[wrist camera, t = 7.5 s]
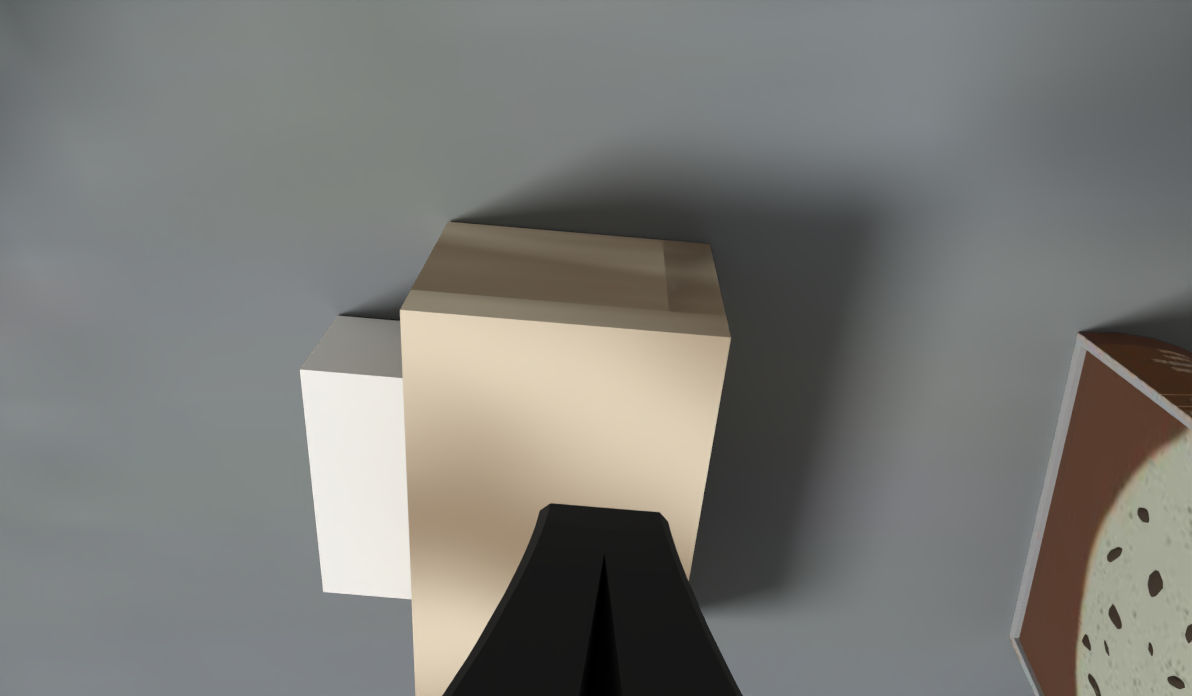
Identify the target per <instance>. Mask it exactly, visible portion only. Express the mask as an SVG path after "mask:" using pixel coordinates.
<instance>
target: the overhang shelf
mask: <svg viewBox="0 0 1192 696" xmlns="http://www.w3.org/2000/svg"><path fill="white" fill-rule="evenodd" d="M400 326H401V350H402V375H403V399H404V424H405V448H406V472H407V497H408V521H409V546H410V570H411V595H412V619H413V644H414V668H415V693H416V696H442V695H443V694H444V692H445V691H446V689H447V688H448V686H449V685H450V683H451V682H452V680H453V678H454V677H455V675H456V674H457V672H458V671H459V669H460V668H461V666H462V665H463V663H464V662H465V660H466V659H467V657H468V656H469V654H470V652H471V651H472V649H473V647H474V646H475V644H476V642H477V641H478V639H479V637H480V635H481V634H482V632H483V630H484V628H485V627H486V625H487V623H488V621H489V620H490V618H491V616H492V614H493V613H494V611H495V609H496V607H497V606H498V604H499V602H500V600H501V599H502V597H503V595H504V593H505V591H506V590H507V588H508V586H509V584H510V582H511V580H512V578H513V576H514V574H515V572H516V570H517V568H518V566H519V564H520V561H521V559H522V557H523V555H524V553H525V551H526V548H527V546H528V544H529V541H530V539H531V536H532V533H533V531H534V528H535V525H536V522H537V519H538V515H539V512H540V510H541V509H543V508H544V507H546V506H547V505H549V504H550V503H555V504H567V505H579V506H591V507H603V508H615V509H627V510H639V511H652V512H660V513H661V514H662V515H663V516H664V517H665V519H666V520H667V521H668V523H669V527H670V531H671V534H672V537H673V540H674V543H675V546H676V550H677V552H678V555H679V558H680V561H681V563H682V566H683V569H684V571H685V574H686V576H687V579H688V581H689V576H690V571H691V565H692V559H693V553H694V548H695V542H696V536H697V530H698V525H699V519H700V513H701V507H702V502H703V496H704V490H705V485H706V479H707V473H708V467H709V462H710V456H711V450H712V444H713V439H714V433H715V427H716V421H717V416H718V410H719V404H720V398H721V393H722V387H723V381H724V375H725V370H726V364H727V358H728V352H729V347H730V341H731V335H730V331H729V326H728V322H727V317H726V313H725V309H724V304H723V300H722V295H721V291H720V287H719V282H718V278H717V273H716V269H715V265H714V260H713V256H712V252H711V247H710V244H705V243H693V242H681V241H670V240H658V239H646V238H634V237H622V236H610V235H599V234H587V233H575V232H563V231H551V230H539V229H528V228H516V227H504V226H492V225H480V224H468V223H456V222H448V223H447V225H446V227H445V228H444V230H443V232H442V234H441V236H440V238H439V239H438V241H437V243H436V245H435V247H434V248H433V250H432V252H431V254H430V256H429V258H428V259H427V261H426V263H425V265H424V267H423V269H422V270H421V272H420V274H419V276H418V278H417V279H416V281H415V283H414V285H413V287H412V289H411V290H410V292H409V294H408V296H407V298H406V300H405V301H404V303H403V305H402V307H401V309H400Z"/></svg>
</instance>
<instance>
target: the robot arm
mask: <svg viewBox="0 0 1192 696" xmlns="http://www.w3.org/2000/svg"><path fill="white" fill-rule="evenodd" d="M442 696H743V695H742V694H741V692H740V690H739V688H738V686H737V684H736V682H735V680H734V678H733V676H732V674H731V672H730V670H729V668H728V666H727V664H726V662H725V660H724V658H723V656H722V654H721V652H720V650H719V648H718V646H717V644H716V642H715V640H714V638H713V636H712V634H711V632H710V630H709V627H708V625H707V623H706V621H705V619H704V616H703V614H702V612H701V610H700V607H699V605H698V603H697V600H696V598H695V596H694V593H693V591H692V588H691V586H690V584H689V581H688V579H687V576H686V574H685V571H684V569H683V566H682V563H681V561H680V558H679V555H678V552H677V550H676V546H675V543H674V540H673V537H672V534H671V531H670V527H669V523H668V521H667V520H666V519H665V517H664V516H663V515H662V514H661V513H660V512H652V511H639V510H627V509H615V508H603V507H591V506H579V505H567V504H555V503H550V504H549V505H547V506H546V507H544V508H543V509H541V510H540V512H539V515H538V519H537V522H536V525H535V528H534V531H533V533H532V536H531V539H530V541H529V544H528V546H527V548H526V551H525V553H524V555H523V557H522V559H521V561H520V564H519V566H518V568H517V570H516V572H515V574H514V576H513V578H512V580H511V582H510V584H509V586H508V588H507V590H506V591H505V593H504V595H503V597H502V599H501V600H500V602H499V604H498V606H497V607H496V609H495V611H494V613H493V614H492V616H491V618H490V620H489V621H488V623H487V625H486V627H485V628H484V630H483V632H482V634H481V635H480V637H479V639H478V641H477V642H476V644H475V646H474V647H473V649H472V651H471V652H470V654H469V656H468V657H467V659H466V660H465V662H464V663H463V665H462V666H461V668H460V669H459V671H458V672H457V674H456V675H455V677H454V678H453V680H452V682H451V683H450V685H449V686H448V688H447V689H446V691H445V692H444V694H443V695H442Z"/></svg>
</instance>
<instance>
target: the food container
mask: <svg viewBox="0 0 1192 696" xmlns="http://www.w3.org/2000/svg"><path fill="white" fill-rule="evenodd" d="M1009 638H1010V640H1011V642H1012V644H1013V647H1014V649H1015V651H1016V653H1017V656H1018V658H1019V660H1020V662H1021V665H1022V667H1023V669H1024V671H1025V674H1026V676H1027V678H1028V680H1029V683H1030V685H1031V687H1032V689H1033V692H1034V694H1035V696H1192V353H1191V352H1189V351H1187V350H1185V349H1183V348H1181V347H1178V346H1175V345H1172V344H1169V343H1165V342H1162V341H1159V340H1156V339H1153V338H1148V337H1142V336H1136V335H1129V334H1123V333H1105V332H1078V334H1077V339H1076V343H1075V348H1074V352H1073V356H1072V361H1071V365H1070V370H1069V374H1068V379H1067V383H1066V387H1065V392H1064V396H1063V401H1062V405H1061V410H1060V414H1059V418H1058V423H1057V427H1056V432H1055V436H1054V441H1053V445H1052V449H1051V454H1050V458H1049V463H1048V467H1047V472H1046V476H1045V480H1044V485H1043V489H1042V494H1041V498H1040V503H1039V507H1038V511H1037V516H1036V520H1035V525H1034V529H1033V534H1032V538H1031V542H1030V547H1029V551H1028V556H1027V560H1026V565H1025V569H1024V573H1023V578H1022V582H1021V587H1020V591H1019V596H1018V600H1017V604H1016V609H1015V613H1014V618H1013V622H1012V627H1011V631H1010V635H1009Z"/></svg>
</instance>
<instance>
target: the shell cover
mask: <svg viewBox="0 0 1192 696" xmlns="http://www.w3.org/2000/svg"><path fill="white" fill-rule="evenodd" d="M300 375H301V385H302V394H303V404H304V413H305V422H306V432H307V441H308V451H309V460H310V470H311V479H312V489H313V498H314V508H315V517H316V526H317V536H318V545H319V555H320V564H321V574H322V583H323V592H331V593H343V594H355V595H367V596H379V597H391V598H403V599H412V595H411V570H410V546H409V521H408V497H407V472H406V448H405V424H404V399H403V375H402V350H401V326H400V321H395V320H383V319H371V318H360V317H348V316H336V318H335V319H334V321H333V322H332V324H331V325H330V326H329V328H328V329H327V331H326V332H325V334H324V335H323V337H322V338H321V340H320V341H319V342H318V344H317V345H316V347H315V348H314V350H313V351H312V353H311V354H310V355H309V357H308V358H307V360H306V361H305V363H304V364H303V366H302V367H301V369H300Z"/></svg>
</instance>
